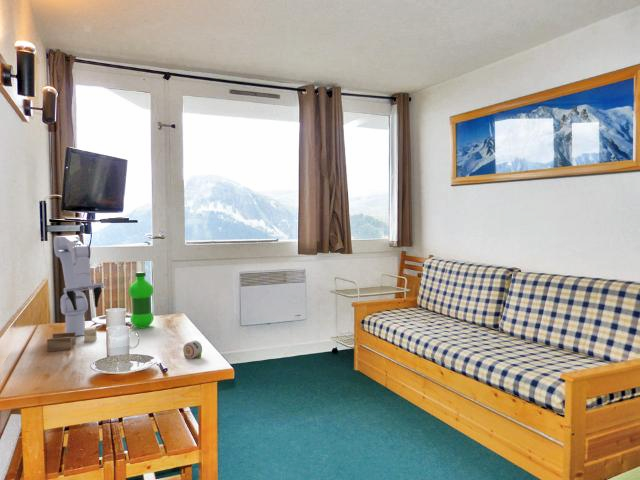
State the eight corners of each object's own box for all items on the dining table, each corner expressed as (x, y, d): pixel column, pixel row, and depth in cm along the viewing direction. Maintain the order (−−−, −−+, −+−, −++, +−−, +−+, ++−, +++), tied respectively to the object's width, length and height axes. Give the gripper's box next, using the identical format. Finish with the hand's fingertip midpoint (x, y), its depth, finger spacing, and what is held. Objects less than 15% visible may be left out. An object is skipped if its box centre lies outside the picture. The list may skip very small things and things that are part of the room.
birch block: (86, 339, 203) (85, 327, 203) (96, 338, 204) (96, 327, 204) (84, 342, 199) (83, 329, 199) (95, 341, 200) (94, 329, 200)
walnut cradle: (53, 345, 195) (53, 333, 195) (75, 343, 197) (75, 332, 197) (47, 351, 185) (46, 339, 185) (70, 349, 188) (70, 337, 188)
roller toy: (195, 360, 170) (195, 343, 170) (181, 358, 173) (180, 342, 172) (203, 357, 174) (203, 340, 174) (189, 355, 177) (188, 339, 176)
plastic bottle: (130, 325, 228) (128, 271, 227) (154, 323, 232) (152, 270, 230) (129, 330, 219) (127, 274, 218) (154, 328, 222) (152, 272, 221)
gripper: (60, 276, 192) (63, 311, 190) (100, 271, 196) (104, 305, 194) (64, 278, 198) (67, 311, 197) (103, 273, 202) (106, 306, 201)
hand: (86, 308), depth 196 cm, fingers open, 7 cm apart
